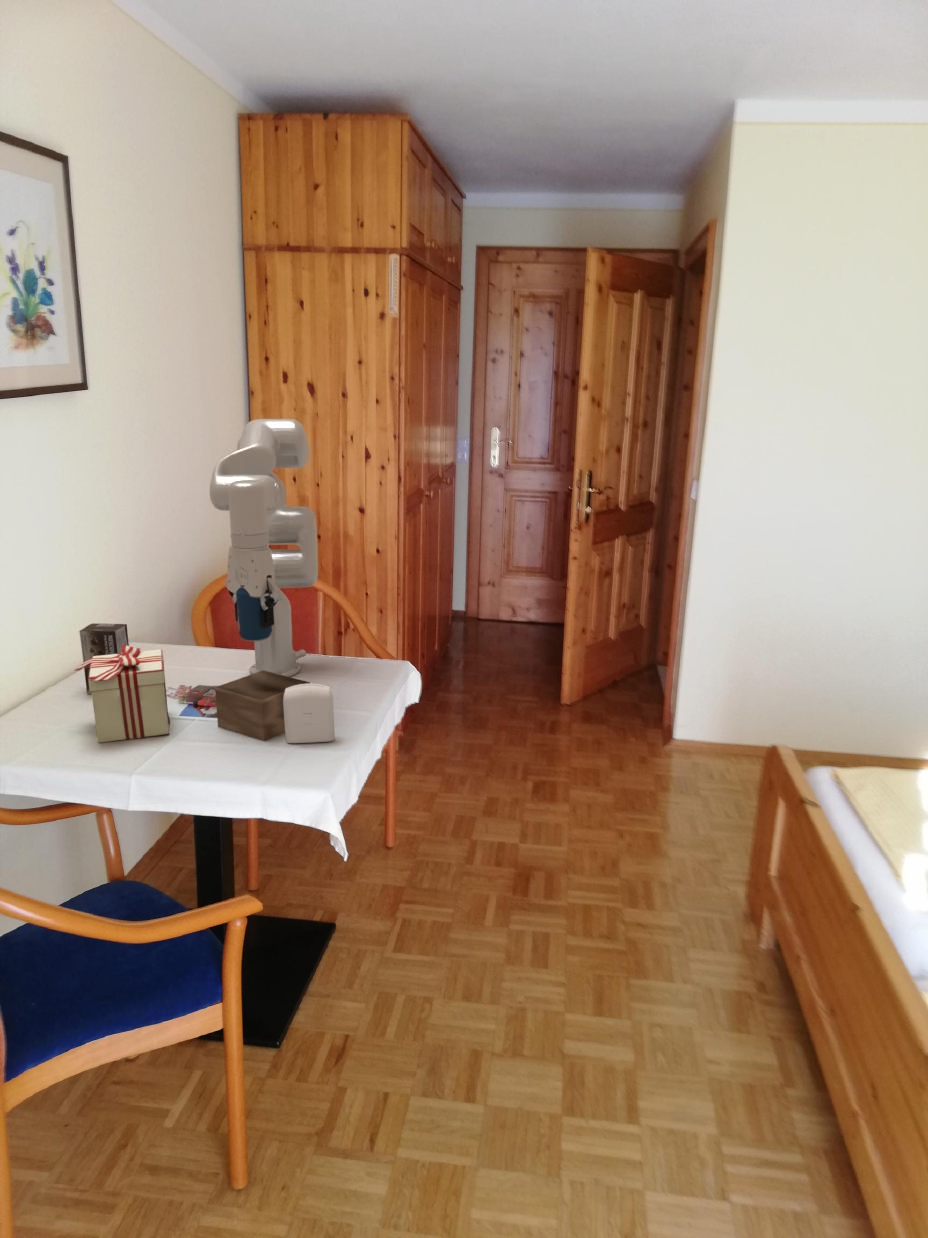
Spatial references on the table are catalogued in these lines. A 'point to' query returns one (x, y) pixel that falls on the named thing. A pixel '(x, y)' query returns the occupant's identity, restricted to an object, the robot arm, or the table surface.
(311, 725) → the photo printer
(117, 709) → the gift box
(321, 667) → the table surface
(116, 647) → the coffee box
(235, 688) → the walnut box
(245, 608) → the soda can
